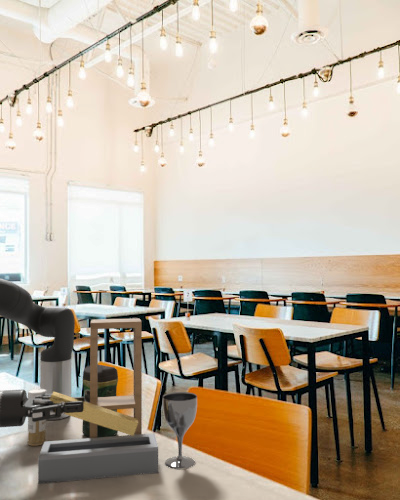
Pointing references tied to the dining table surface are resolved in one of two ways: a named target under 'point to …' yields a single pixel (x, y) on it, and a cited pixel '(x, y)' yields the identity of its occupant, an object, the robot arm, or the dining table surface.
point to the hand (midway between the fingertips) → (83, 404)
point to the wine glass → (179, 422)
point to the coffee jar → (100, 395)
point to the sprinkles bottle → (36, 424)
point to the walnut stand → (135, 399)
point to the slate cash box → (97, 458)
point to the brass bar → (100, 415)
